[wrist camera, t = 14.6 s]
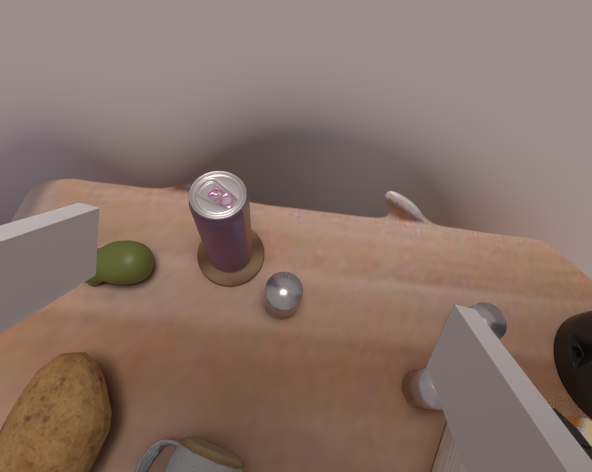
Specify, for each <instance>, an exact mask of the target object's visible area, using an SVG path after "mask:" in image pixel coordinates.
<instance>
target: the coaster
mask: <svg viewBox="0 0 592 472" xmlns="http://www.w3.org/2000/svg"><path fill="white" fill-rule="evenodd" d="M251 234H252V248H253V253H252V257H251V260H250V261H249V263H248V264H247V265H246V266H245V267H244V268H242V269H241V270H238V271H235V272H223V271H220V270H218V269H217V268H215V267H214V266H213V265H212V264H211V262H210V260H209V258H208V255H207V252H206V250H205V247H204V245H203V242H202V241H201V243H200V245H199V249H198V263H199V266H200V268H201V270H202V272H203V273H204V275H205V276H206V277H207V278H208V279H209V280H210V281H212V282H214V283H215V284H218V285H221V286H226V287H233V286H239V285H242V284H245V283H247V282H248V281H250V280H251V279H253V278H254V277H255V276H256V275H257V274H258V272H259V271H260V269H261V267H262V264H263V260H264V248H263V244H262V242H261V240H260V238H259V237H258V235H257V234H256V233H255V232H254V231H252V230H251Z"/></svg>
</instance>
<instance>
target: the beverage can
mask: <svg viewBox="0 0 592 472" xmlns="http://www.w3.org/2000/svg"><path fill="white" fill-rule="evenodd" d="M189 207H190V210H191V213H192V216H193V218H194V221H195V223H196V226H197V229H198V231H199V234H200V237H201V239H202V242H203V245H204V247H205V250H206V252H207V255H208V258H209V260H210V262H211V264H212V265H213V266H214V267H215V268H217V269H218V270H220V271H223V272H235V271H238V270H241V269H242V268H244V267H245V266H246V265H247V264H248V263H249V261H250V260H251V257H252V253H253V248H252V234H251V219H250V205H249V195H248V192H247V190H246V187H245V185H244V183H243V182H242V181H241V179H239V178H238V177H237V176H235V175H234V174H232V173H229V172H225V171H213V172H209V173H206V174H204V175H202V176H200V177H199V178H198V179H197V180H196V181H195V182H194V183H193V184H192V186H191V188H190V191H189Z"/></svg>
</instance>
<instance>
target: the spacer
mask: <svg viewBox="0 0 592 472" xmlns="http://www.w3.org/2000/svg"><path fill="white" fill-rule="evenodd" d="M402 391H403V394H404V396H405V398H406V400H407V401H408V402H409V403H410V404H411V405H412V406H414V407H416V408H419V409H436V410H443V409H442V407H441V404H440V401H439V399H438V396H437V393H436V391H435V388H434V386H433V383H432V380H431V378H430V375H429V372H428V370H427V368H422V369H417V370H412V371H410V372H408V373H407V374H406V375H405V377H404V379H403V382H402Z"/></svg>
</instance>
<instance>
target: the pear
mask: <svg viewBox="0 0 592 472" xmlns="http://www.w3.org/2000/svg"><path fill="white" fill-rule="evenodd" d="M153 267H154V257H153V254H152V252H151V250H150V249H149V248H148V247H147V246H146V245H144V244H142V243H139V242H135V241H116V242H112V243H109V244H107V245H105V246H104V247H102V248H99V249H97V261H96V275H95V276H93V277H92V278H90V279H89V280H87V281H85V282H87V283H88V284H89V285H91V286H97V285H99V284H101V283H102V282H107V283H111V284H119V285H121V284H133V283H138V282H141V281H143V280H144V279H146V278H147V277H148V276H149V275H150V274H151V272H152V270H153Z"/></svg>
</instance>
